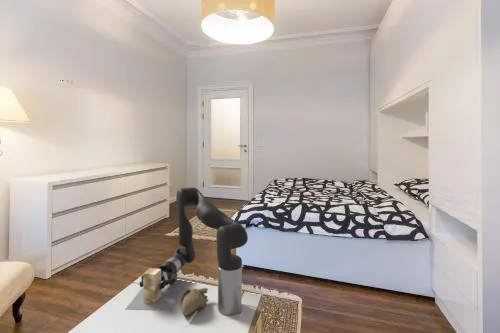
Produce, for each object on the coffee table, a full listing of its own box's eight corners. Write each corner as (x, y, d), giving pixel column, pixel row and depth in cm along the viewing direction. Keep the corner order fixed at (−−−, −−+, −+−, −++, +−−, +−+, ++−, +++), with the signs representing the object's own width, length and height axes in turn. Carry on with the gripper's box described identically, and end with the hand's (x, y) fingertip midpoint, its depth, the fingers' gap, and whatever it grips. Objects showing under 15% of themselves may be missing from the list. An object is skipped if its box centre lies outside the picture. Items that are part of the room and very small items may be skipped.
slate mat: (182, 289, 117) (182, 288, 117) (171, 311, 101) (171, 310, 101) (142, 289, 117) (142, 288, 117) (124, 310, 101) (124, 309, 101)
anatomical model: (199, 298, 95) (212, 283, 110) (171, 297, 97) (188, 282, 112) (199, 319, 95) (213, 301, 109) (172, 318, 97) (189, 300, 112)
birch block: (161, 297, 110) (161, 269, 109) (154, 303, 105) (154, 274, 105) (150, 295, 111) (150, 268, 110) (143, 302, 106) (143, 273, 105)
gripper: (155, 259, 123) (134, 275, 107) (184, 262, 121) (166, 278, 105) (155, 275, 124) (134, 293, 108) (184, 278, 121) (166, 297, 105)
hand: (150, 286), depth 106 cm, fingers open, 8 cm apart
